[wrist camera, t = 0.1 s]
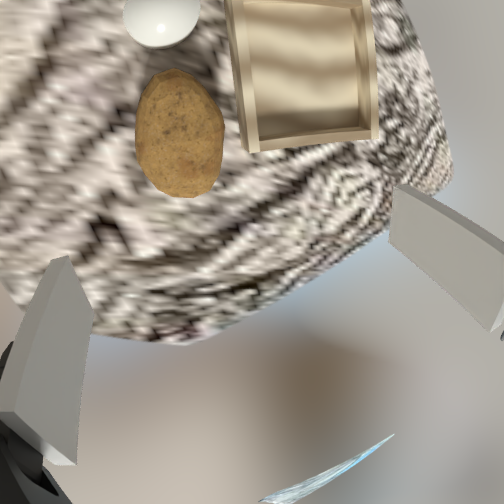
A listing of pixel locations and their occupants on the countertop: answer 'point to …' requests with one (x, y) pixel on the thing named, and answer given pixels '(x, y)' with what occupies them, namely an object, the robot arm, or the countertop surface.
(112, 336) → the countertop surface
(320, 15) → the tray
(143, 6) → the white rounded piece
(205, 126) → the potato
